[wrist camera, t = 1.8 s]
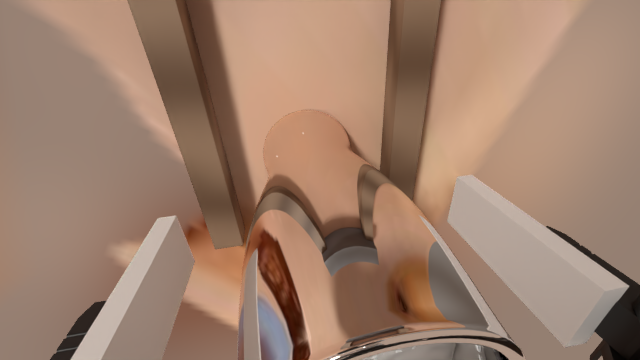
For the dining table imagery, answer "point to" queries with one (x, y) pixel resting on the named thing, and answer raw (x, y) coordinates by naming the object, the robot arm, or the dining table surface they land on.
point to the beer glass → (351, 263)
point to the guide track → (201, 125)
